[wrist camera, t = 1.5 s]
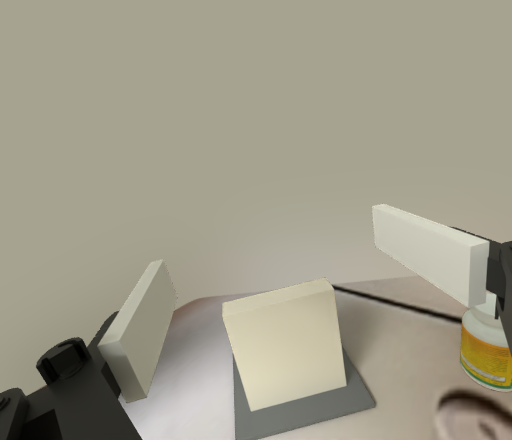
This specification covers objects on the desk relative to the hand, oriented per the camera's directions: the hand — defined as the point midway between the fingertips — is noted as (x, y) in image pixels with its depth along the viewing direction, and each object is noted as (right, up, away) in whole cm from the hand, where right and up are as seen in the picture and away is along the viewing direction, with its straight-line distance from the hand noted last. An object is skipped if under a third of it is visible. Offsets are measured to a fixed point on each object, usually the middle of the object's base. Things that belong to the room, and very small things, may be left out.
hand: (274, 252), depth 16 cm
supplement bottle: (+26, -16, +14) cm, 34 cm away
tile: (+4, -19, +16) cm, 26 cm away
